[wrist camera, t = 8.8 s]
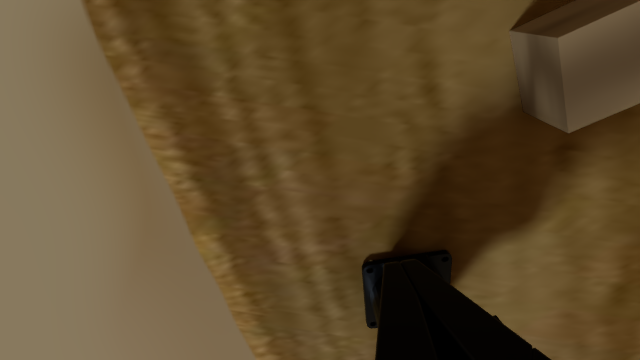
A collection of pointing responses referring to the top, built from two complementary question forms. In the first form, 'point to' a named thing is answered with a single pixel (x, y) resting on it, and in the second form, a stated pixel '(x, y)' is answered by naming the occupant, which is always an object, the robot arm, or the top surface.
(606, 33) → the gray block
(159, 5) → the top surface
